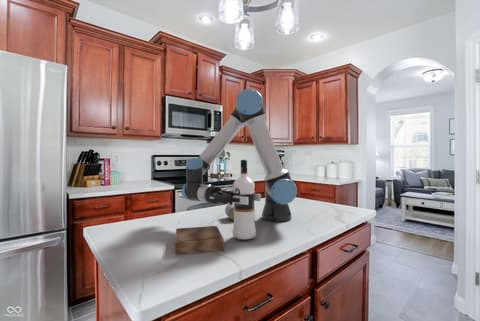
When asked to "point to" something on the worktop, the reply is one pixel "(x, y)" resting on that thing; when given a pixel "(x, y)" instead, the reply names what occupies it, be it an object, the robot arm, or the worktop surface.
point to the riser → (198, 240)
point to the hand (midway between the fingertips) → (254, 199)
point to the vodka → (244, 206)
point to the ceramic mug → (230, 211)
